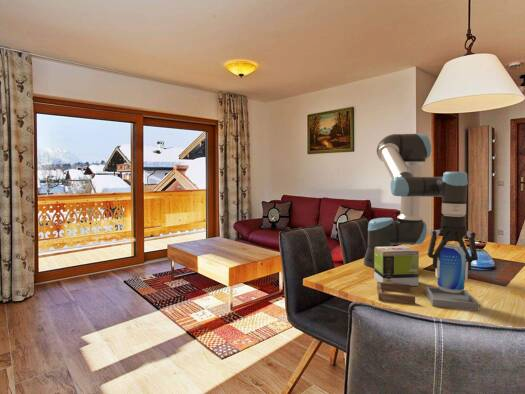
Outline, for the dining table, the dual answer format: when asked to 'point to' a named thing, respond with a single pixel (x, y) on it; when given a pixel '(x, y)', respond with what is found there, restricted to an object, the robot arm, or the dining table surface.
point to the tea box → (396, 265)
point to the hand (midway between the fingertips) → (451, 277)
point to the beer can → (452, 268)
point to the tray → (451, 299)
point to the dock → (394, 296)
